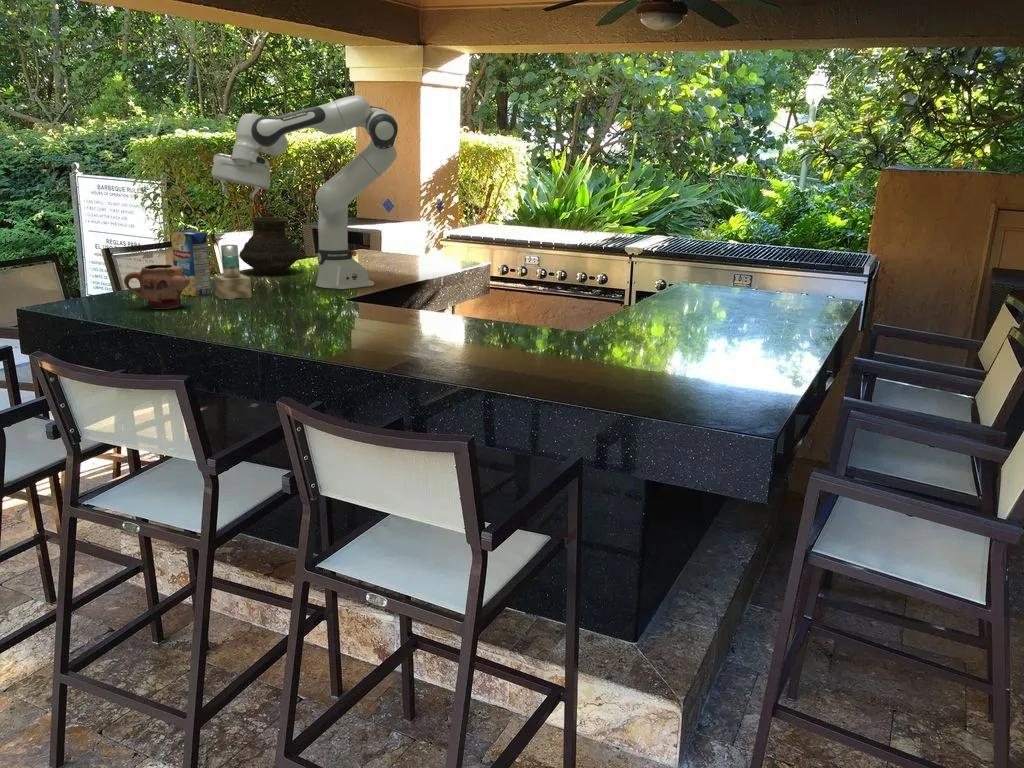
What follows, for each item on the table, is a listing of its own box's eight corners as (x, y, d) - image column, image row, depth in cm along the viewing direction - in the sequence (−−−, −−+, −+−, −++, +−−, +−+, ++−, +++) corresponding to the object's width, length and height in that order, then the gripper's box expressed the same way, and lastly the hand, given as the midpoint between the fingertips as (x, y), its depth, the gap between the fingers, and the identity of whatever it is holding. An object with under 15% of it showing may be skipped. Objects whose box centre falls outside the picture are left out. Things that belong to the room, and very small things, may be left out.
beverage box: (196, 296, 303) (191, 234, 297) (175, 293, 308) (170, 231, 302) (211, 294, 308) (207, 232, 302) (191, 290, 314) (186, 230, 308)
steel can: (237, 274, 307) (234, 244, 304) (242, 277, 303) (240, 246, 300) (221, 276, 304) (218, 245, 301) (226, 278, 300) (223, 247, 296)
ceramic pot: (296, 277, 349) (294, 221, 343) (235, 276, 346) (232, 220, 339) (303, 268, 372) (301, 216, 365) (245, 267, 368) (242, 215, 362)
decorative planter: (128, 313, 273) (123, 269, 270) (125, 306, 284) (121, 264, 280) (194, 309, 282) (190, 267, 278) (189, 302, 293) (186, 261, 289)
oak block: (243, 293, 312) (242, 274, 310) (251, 297, 304) (250, 278, 302) (215, 295, 307) (213, 275, 305) (222, 299, 299) (221, 279, 297)
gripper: (213, 149, 302) (206, 186, 301) (272, 161, 307) (266, 199, 306) (215, 154, 308) (208, 191, 307) (273, 167, 313) (267, 203, 312)
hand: (237, 195), depth 307 cm, fingers open, 8 cm apart
